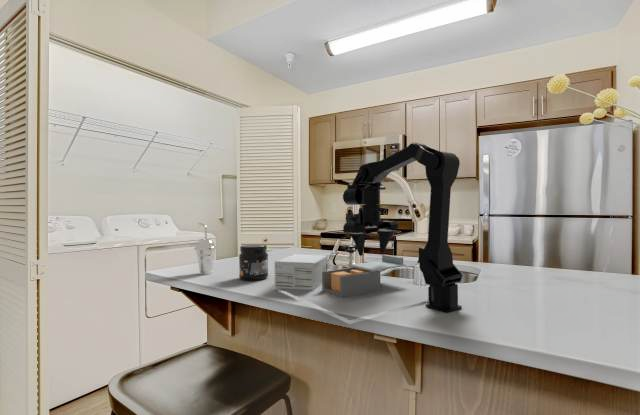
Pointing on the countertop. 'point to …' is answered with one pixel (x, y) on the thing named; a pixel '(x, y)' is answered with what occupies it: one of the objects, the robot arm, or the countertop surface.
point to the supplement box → (300, 272)
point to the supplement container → (253, 262)
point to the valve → (350, 253)
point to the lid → (381, 263)
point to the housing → (352, 282)
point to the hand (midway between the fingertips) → (371, 254)
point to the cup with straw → (205, 253)
